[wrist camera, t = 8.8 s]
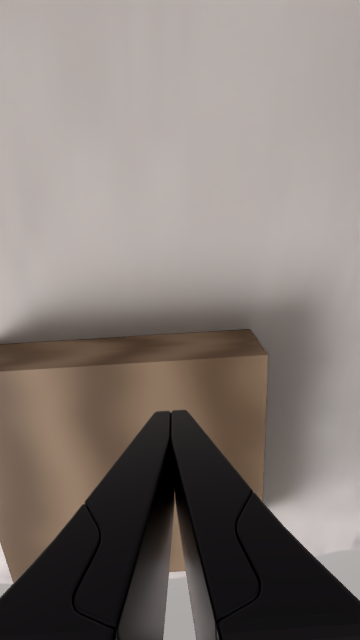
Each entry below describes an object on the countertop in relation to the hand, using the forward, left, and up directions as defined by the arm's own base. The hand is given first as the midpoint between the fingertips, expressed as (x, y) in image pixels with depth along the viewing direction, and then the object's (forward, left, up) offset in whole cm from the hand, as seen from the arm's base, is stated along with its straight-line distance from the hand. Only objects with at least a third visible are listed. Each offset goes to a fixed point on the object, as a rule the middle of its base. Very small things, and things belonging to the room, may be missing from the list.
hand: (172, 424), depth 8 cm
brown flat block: (+3, +10, -12) cm, 16 cm away
